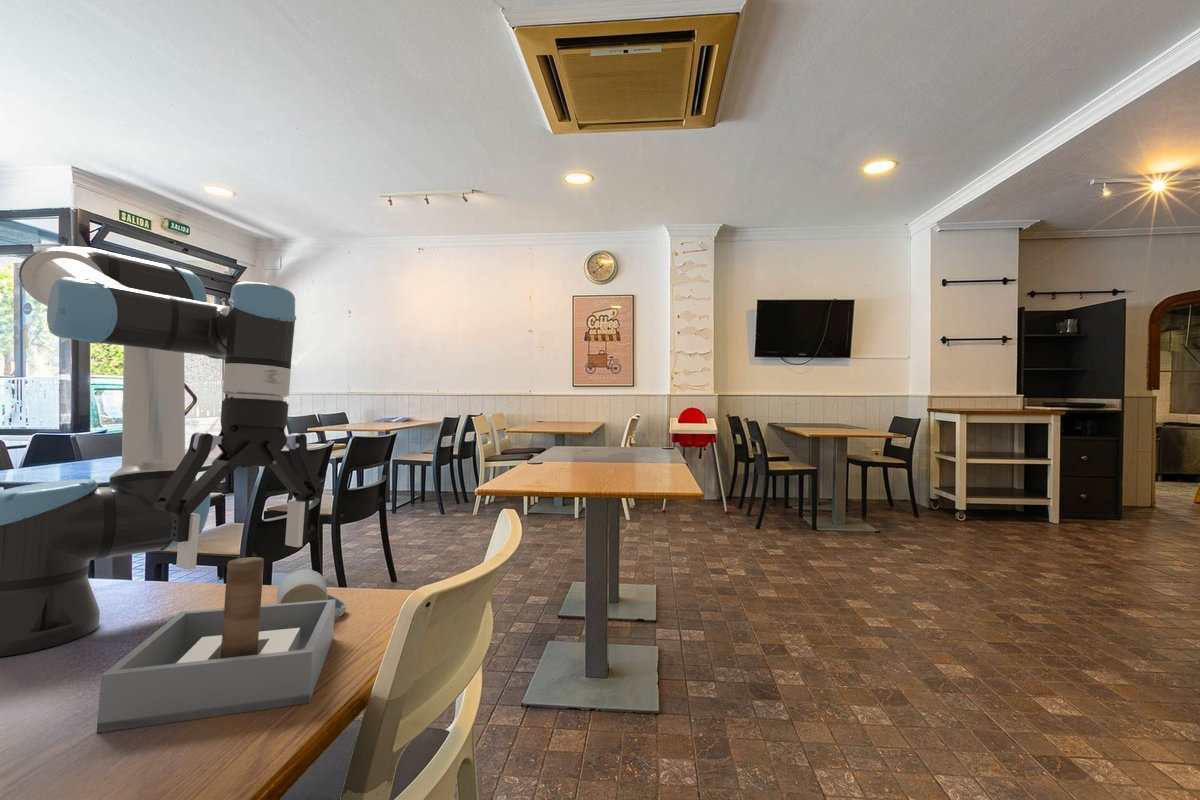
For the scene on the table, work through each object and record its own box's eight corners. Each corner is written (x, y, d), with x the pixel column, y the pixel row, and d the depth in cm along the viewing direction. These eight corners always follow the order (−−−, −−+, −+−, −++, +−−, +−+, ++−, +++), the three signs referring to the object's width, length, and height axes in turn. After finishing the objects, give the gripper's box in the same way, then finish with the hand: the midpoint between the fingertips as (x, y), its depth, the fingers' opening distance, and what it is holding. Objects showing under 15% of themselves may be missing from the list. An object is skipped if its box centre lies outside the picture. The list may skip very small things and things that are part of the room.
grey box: (177, 654, 73) (180, 611, 73) (333, 638, 80) (335, 599, 80) (96, 733, 54) (101, 675, 54) (309, 703, 61) (312, 651, 61)
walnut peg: (225, 663, 68) (233, 558, 69) (260, 660, 70) (267, 556, 70) (214, 677, 64) (223, 565, 65) (251, 673, 66) (259, 563, 67)
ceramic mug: (275, 632, 82) (280, 583, 82) (275, 616, 88) (279, 571, 89) (348, 621, 87) (352, 575, 88) (342, 606, 94) (346, 564, 95)
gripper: (162, 390, 56) (145, 585, 55) (354, 403, 79) (345, 541, 78) (127, 390, 59) (110, 574, 58) (321, 403, 82) (312, 535, 81)
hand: (244, 556), depth 68 cm, fingers open, 13 cm apart
